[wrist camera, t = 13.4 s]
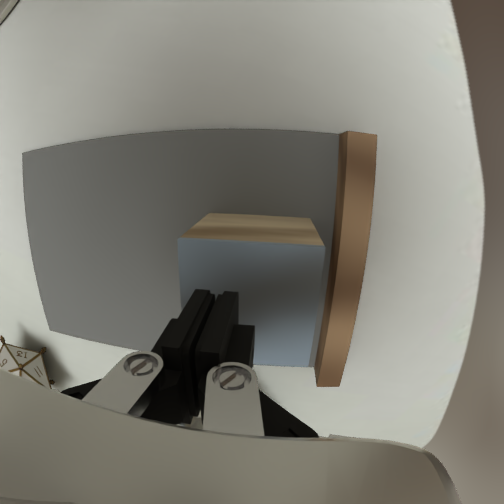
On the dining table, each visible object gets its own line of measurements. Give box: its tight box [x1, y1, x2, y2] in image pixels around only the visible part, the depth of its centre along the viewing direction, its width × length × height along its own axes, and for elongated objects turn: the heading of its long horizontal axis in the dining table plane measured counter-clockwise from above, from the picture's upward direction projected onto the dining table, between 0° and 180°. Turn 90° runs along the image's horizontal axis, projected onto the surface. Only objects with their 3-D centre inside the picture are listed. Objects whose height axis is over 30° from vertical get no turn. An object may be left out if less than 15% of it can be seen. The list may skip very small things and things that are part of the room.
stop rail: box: [314, 131, 377, 387], centre depth 17 cm, size 16×2×2 cm, turn 178°
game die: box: [0, 336, 55, 389], centre depth 21 cm, size 9×8×10 cm
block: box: [177, 213, 325, 367], centre depth 16 cm, size 6×6×6 cm
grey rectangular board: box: [22, 129, 339, 367], centre depth 19 cm, size 16×24×1 cm
